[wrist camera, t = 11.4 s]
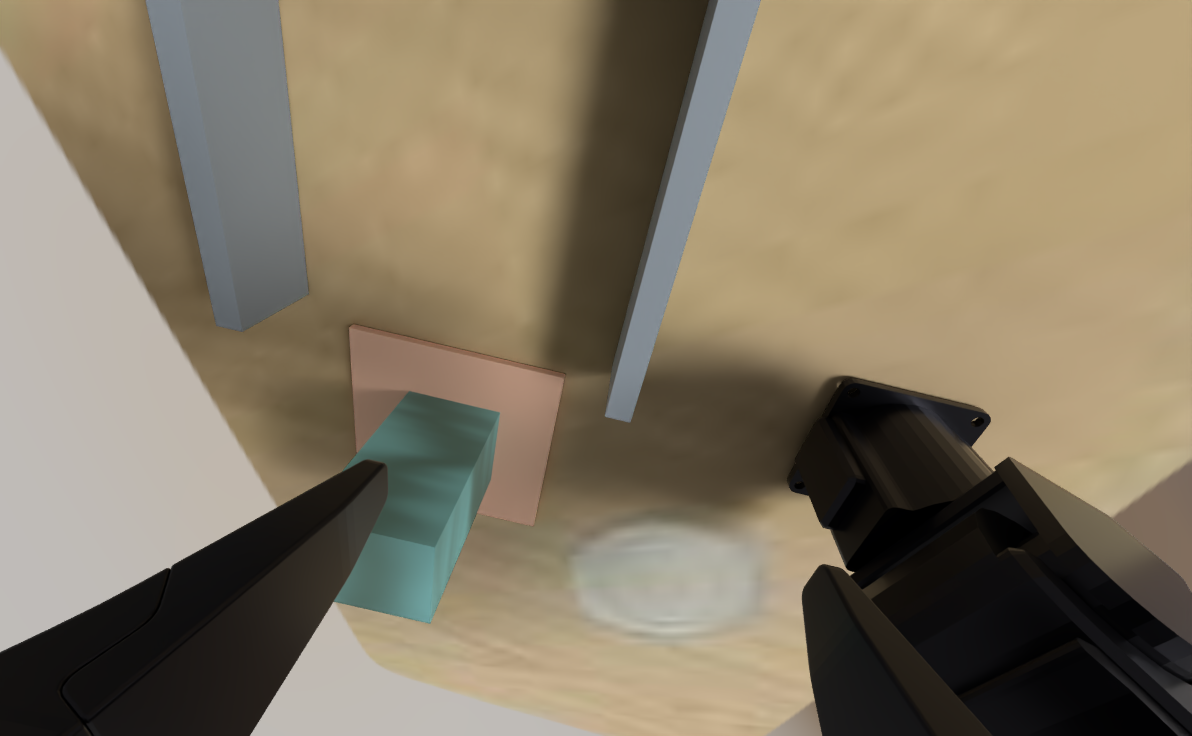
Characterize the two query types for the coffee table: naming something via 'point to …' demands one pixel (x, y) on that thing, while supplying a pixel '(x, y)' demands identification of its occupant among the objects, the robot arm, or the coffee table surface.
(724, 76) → the open-front gray frame
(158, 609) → the robot arm
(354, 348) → the terracotta mat
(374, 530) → the teal block
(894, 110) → the coffee table surface
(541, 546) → the coffee table surface
